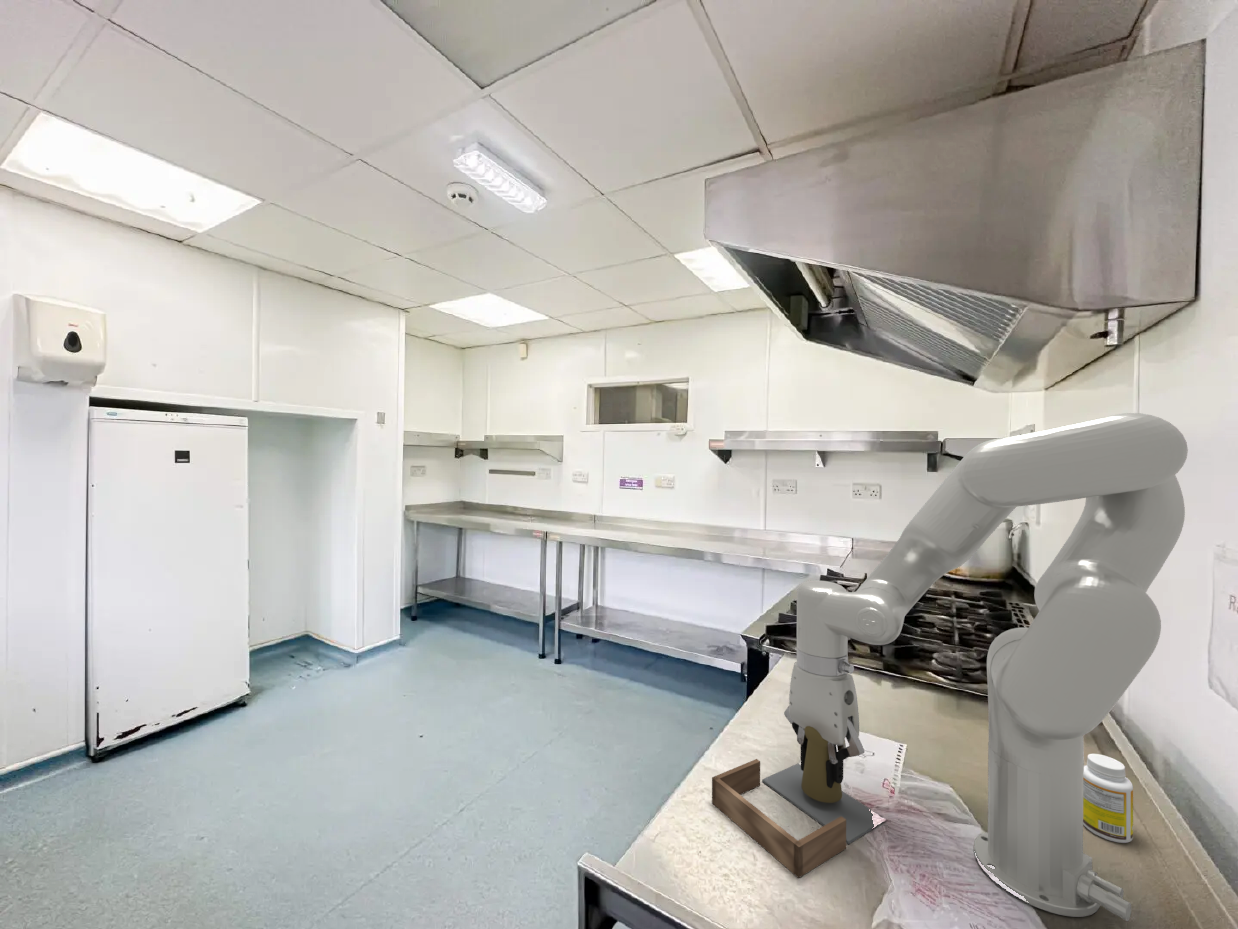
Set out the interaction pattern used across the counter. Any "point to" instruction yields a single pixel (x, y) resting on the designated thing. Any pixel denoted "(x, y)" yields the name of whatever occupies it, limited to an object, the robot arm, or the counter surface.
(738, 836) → the counter surface
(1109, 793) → the supplement bottle
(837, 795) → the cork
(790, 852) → the wooden u-shaped frame
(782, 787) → the charcoal mat
